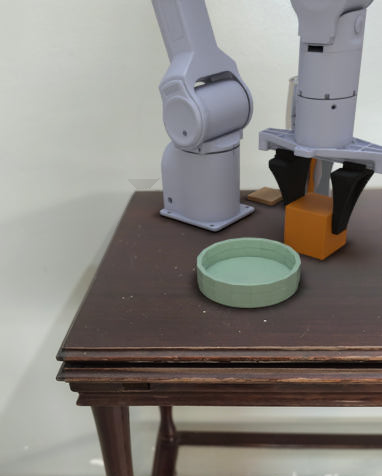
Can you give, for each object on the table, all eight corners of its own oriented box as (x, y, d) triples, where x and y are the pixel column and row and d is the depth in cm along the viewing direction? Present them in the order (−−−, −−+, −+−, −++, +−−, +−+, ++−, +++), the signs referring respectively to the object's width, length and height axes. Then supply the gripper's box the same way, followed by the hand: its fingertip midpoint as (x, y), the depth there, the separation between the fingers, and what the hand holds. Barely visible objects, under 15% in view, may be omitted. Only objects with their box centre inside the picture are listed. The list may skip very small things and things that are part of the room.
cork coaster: (246, 199, 76) (247, 195, 76) (264, 190, 79) (264, 186, 78) (271, 206, 74) (271, 201, 74) (288, 196, 77) (289, 192, 76)
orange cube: (283, 248, 64) (285, 205, 61) (307, 233, 67) (310, 191, 64) (322, 260, 61) (326, 216, 58) (345, 243, 64) (350, 201, 61)
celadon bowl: (176, 286, 58) (175, 264, 57) (239, 250, 64) (239, 229, 63) (258, 320, 52) (259, 296, 51) (318, 276, 58) (320, 254, 57)
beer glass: (330, 193, 77) (342, 71, 68) (340, 213, 71) (354, 84, 63) (278, 195, 77) (283, 74, 69) (284, 215, 71) (290, 86, 63)
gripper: (241, 93, 57) (241, 221, 64) (377, 111, 49) (358, 255, 56) (281, 80, 61) (277, 202, 69) (413, 94, 53) (391, 231, 61)
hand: (316, 225), depth 63 cm, fingers closed on orange cube, 5 cm apart
